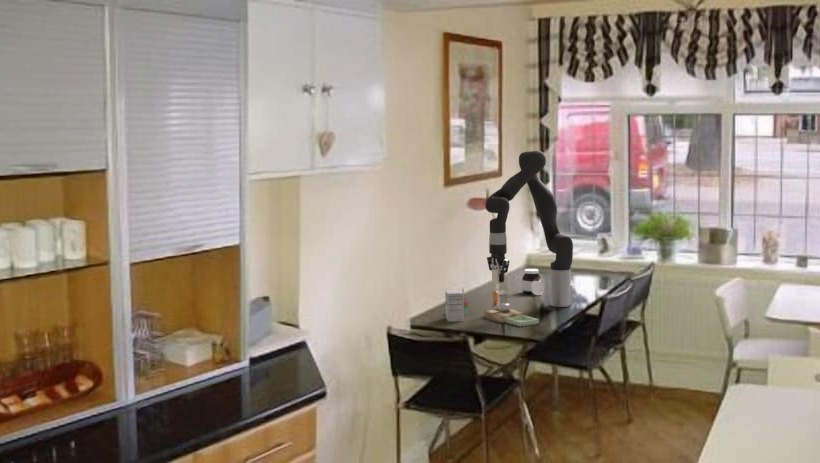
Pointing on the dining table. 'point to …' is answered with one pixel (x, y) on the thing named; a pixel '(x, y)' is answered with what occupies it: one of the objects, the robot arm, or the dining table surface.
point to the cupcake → (465, 303)
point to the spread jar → (532, 282)
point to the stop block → (496, 276)
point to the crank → (502, 306)
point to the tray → (522, 320)
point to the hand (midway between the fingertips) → (498, 281)
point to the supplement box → (454, 305)
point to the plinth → (502, 314)
